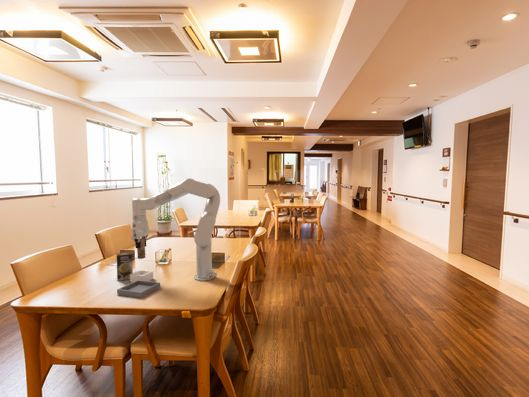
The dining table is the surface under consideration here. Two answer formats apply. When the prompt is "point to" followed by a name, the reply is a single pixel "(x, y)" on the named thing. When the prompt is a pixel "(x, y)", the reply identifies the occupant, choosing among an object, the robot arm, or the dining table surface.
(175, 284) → the dining table surface
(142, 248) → the dowel
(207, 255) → the robot arm
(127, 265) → the coffee box
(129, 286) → the tray
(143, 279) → the white square block
